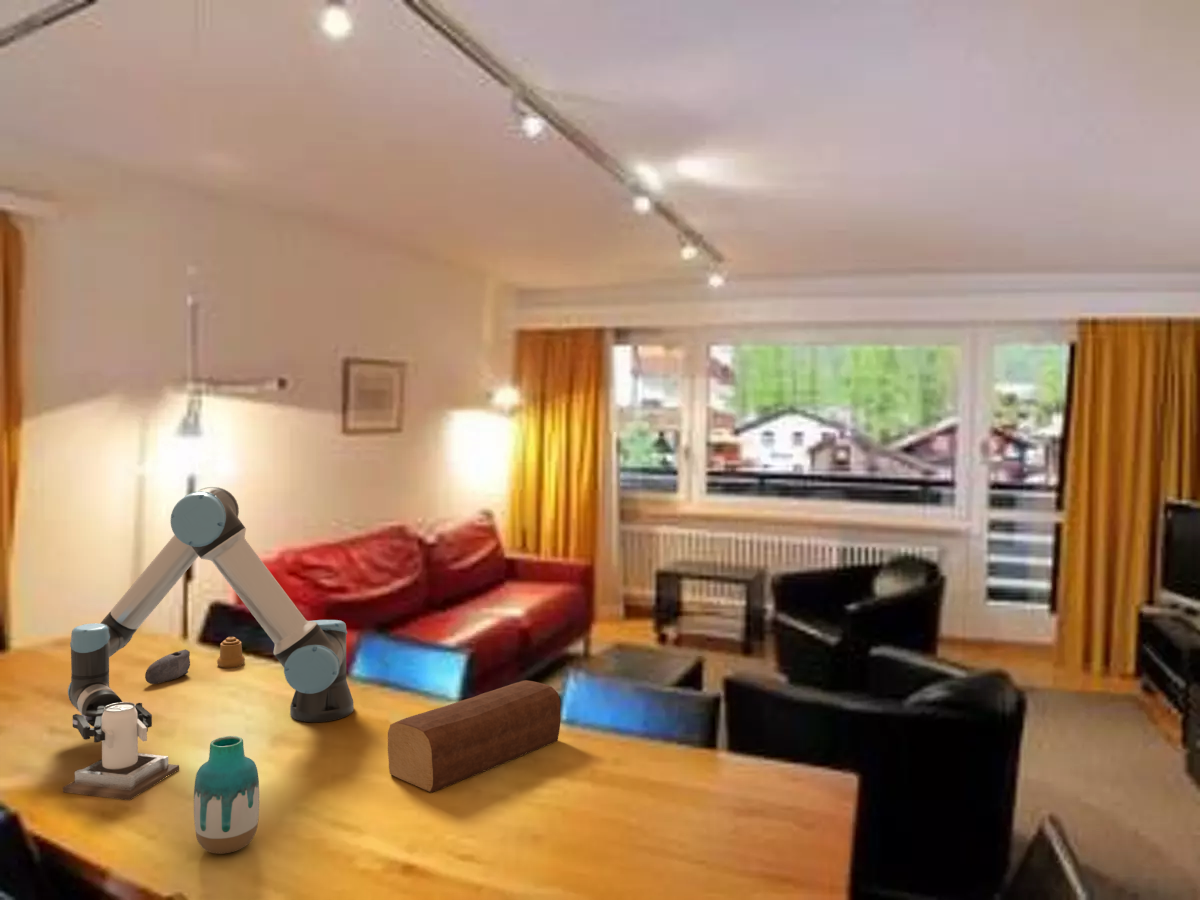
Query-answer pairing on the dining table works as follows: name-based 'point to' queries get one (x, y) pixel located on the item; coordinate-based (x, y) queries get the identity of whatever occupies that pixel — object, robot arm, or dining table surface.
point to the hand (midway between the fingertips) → (128, 737)
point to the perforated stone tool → (168, 667)
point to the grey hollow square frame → (100, 778)
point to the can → (120, 736)
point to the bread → (473, 734)
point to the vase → (226, 797)
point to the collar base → (118, 792)
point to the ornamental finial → (230, 653)
